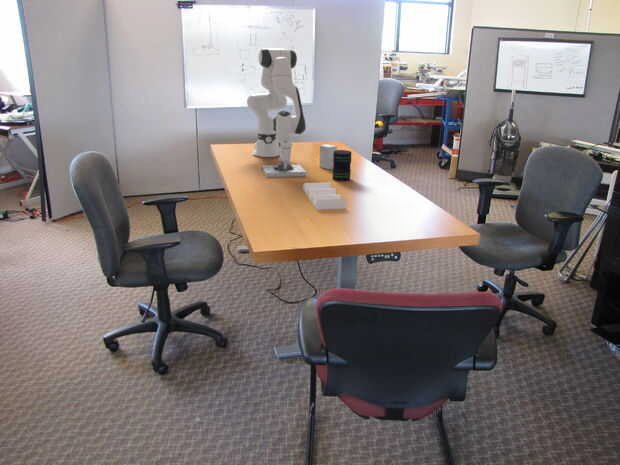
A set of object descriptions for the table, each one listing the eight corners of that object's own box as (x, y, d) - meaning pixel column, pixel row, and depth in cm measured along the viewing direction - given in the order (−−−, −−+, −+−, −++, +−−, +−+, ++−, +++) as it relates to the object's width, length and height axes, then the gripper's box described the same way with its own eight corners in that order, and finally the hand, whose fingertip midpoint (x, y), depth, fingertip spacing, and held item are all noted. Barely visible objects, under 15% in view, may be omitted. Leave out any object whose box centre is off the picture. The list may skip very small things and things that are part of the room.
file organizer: (327, 188, 262) (328, 178, 260) (345, 209, 230) (345, 198, 228) (302, 189, 260) (302, 179, 258) (316, 210, 228) (316, 199, 226)
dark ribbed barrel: (351, 177, 282) (353, 150, 276) (348, 182, 273) (349, 154, 267) (334, 176, 284) (335, 149, 279) (330, 180, 275) (331, 152, 270)
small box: (336, 168, 302) (337, 146, 297) (328, 169, 298) (328, 147, 293) (327, 165, 308) (327, 143, 303) (319, 166, 304) (319, 145, 299)
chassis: (262, 169, 294) (262, 165, 293) (299, 168, 298) (299, 164, 297) (266, 177, 278) (266, 172, 277) (305, 176, 282) (305, 171, 281)
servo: (274, 171, 289) (274, 161, 287) (291, 171, 291) (291, 161, 289) (275, 173, 285) (275, 163, 283) (292, 172, 287) (292, 162, 285)
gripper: (275, 138, 291) (275, 162, 296) (281, 145, 272) (280, 170, 277) (286, 138, 292) (286, 162, 297) (292, 145, 273) (292, 170, 278)
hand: (283, 166), depth 287 cm, fingers open, 8 cm apart
